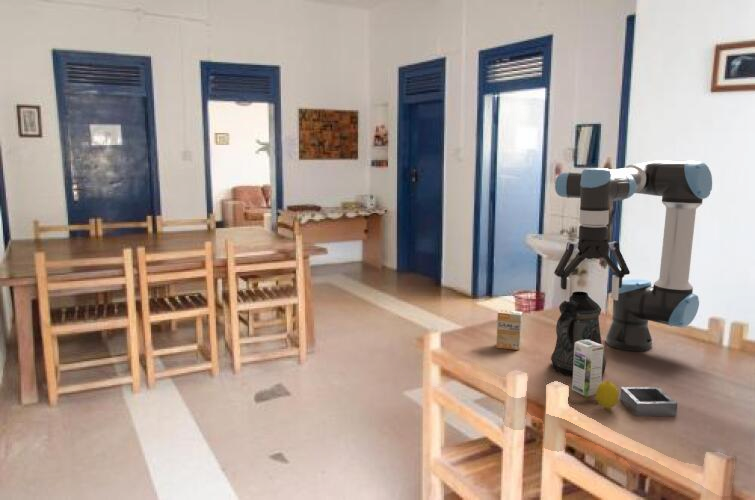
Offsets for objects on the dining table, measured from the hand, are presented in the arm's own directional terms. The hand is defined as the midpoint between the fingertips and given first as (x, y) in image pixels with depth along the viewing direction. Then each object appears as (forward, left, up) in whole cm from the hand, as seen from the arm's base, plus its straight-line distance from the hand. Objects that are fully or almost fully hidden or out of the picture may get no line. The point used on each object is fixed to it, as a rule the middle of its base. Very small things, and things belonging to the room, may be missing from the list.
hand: (590, 299), depth 160 cm
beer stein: (-3, -15, -27) cm, 31 cm away
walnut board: (+1, +3, -27) cm, 27 cm away
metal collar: (-13, +11, -27) cm, 32 cm away
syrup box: (+1, +3, -26) cm, 27 cm away
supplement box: (+14, -37, -27) cm, 48 cm away
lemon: (-1, +12, -27) cm, 30 cm away
